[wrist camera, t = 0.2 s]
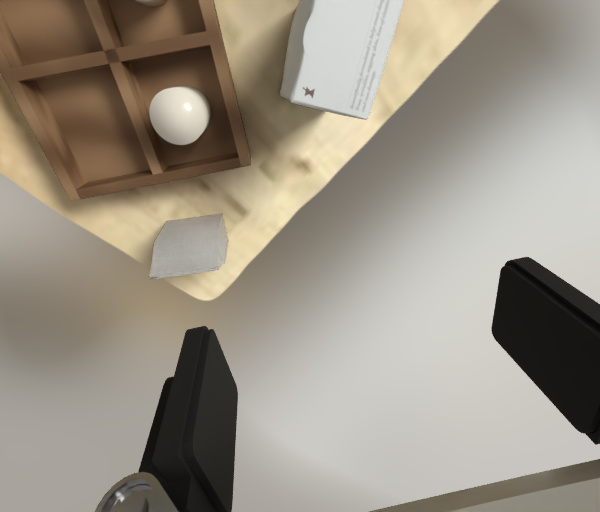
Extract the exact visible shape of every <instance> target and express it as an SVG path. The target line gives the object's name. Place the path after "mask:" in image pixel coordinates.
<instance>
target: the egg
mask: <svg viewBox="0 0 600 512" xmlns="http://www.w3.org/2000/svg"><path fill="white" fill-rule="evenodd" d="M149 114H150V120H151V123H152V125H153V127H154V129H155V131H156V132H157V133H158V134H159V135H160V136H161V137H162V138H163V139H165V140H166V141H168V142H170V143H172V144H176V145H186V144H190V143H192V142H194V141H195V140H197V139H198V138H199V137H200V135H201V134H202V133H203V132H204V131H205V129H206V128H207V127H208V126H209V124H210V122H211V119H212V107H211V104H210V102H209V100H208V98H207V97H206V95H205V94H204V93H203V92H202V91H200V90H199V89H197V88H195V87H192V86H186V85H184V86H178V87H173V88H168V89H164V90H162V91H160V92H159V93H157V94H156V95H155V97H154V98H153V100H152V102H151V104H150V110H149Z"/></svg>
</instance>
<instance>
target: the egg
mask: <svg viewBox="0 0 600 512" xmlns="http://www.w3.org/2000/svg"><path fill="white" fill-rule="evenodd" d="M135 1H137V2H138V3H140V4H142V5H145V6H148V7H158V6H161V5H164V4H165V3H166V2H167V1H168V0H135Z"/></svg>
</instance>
